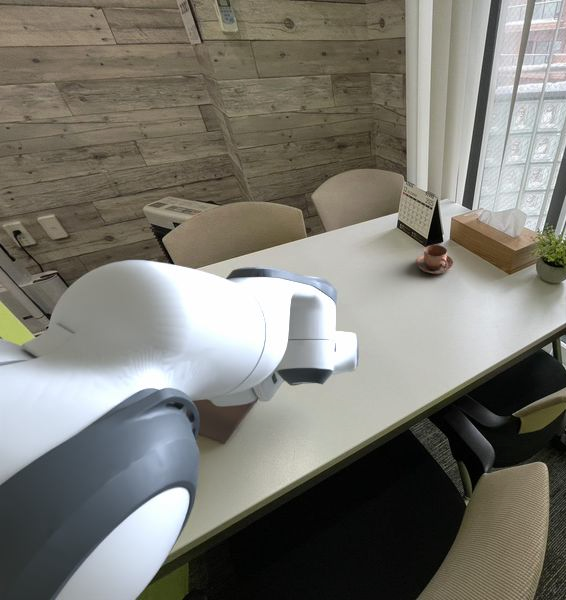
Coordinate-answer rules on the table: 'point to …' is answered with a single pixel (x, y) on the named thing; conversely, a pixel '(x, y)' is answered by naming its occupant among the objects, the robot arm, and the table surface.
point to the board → (219, 419)
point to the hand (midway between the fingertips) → (204, 357)
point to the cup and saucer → (435, 260)
